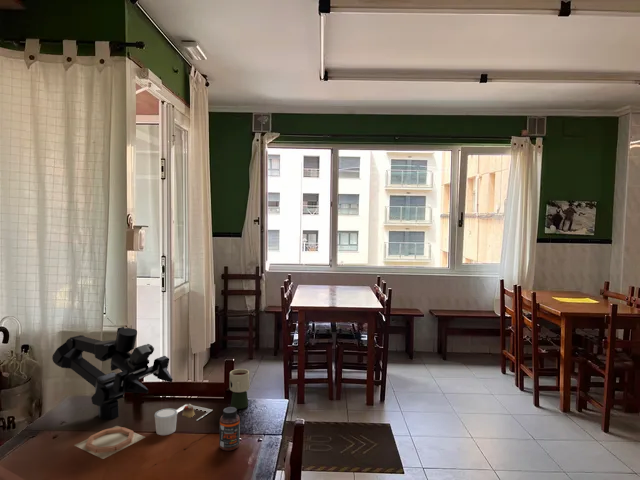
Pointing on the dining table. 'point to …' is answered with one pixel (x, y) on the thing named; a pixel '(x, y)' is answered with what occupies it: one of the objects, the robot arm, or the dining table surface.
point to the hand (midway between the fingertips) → (160, 385)
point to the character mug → (239, 388)
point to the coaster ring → (109, 448)
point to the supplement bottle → (229, 429)
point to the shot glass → (165, 421)
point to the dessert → (191, 410)
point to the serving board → (109, 442)
